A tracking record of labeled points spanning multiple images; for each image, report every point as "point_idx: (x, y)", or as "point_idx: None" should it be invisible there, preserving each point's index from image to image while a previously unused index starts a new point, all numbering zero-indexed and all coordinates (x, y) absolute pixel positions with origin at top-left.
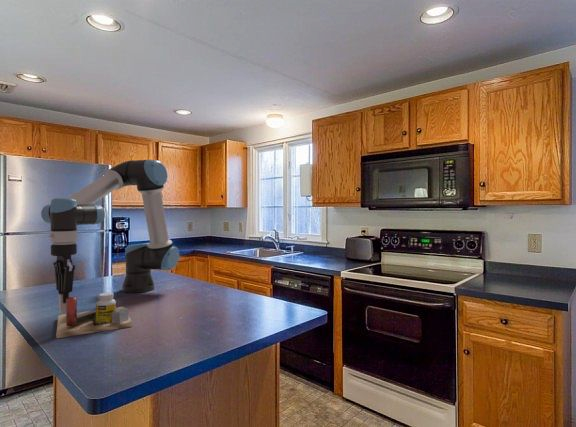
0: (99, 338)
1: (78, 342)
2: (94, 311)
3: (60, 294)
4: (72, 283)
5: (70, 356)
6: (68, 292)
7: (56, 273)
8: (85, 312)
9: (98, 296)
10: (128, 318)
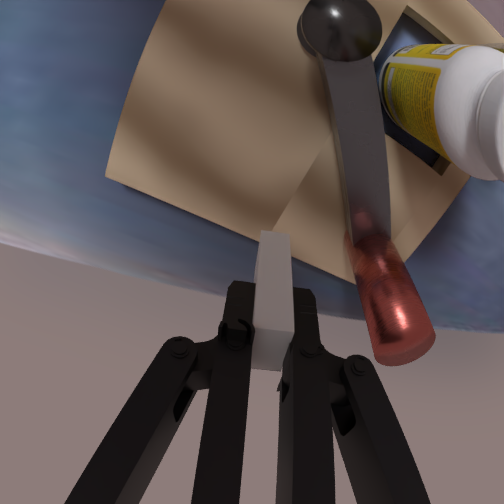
0: (500, 212)
1: (465, 262)
2: (363, 105)
3: (277, 368)
4: (397, 427)
5: (496, 309)
6: (341, 364)
7: (139, 499)
8: (160, 59)
9: (499, 177)
10: (502, 43)
